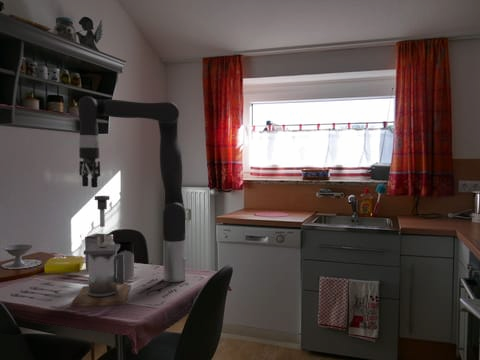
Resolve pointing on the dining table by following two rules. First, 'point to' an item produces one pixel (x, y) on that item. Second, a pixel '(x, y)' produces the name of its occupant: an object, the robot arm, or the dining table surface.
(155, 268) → the dining table surface
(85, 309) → the dining table surface
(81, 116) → the robot arm
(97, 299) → the board
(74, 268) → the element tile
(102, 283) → the press
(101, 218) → the plunger
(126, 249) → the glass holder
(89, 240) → the coffee box
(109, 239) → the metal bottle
